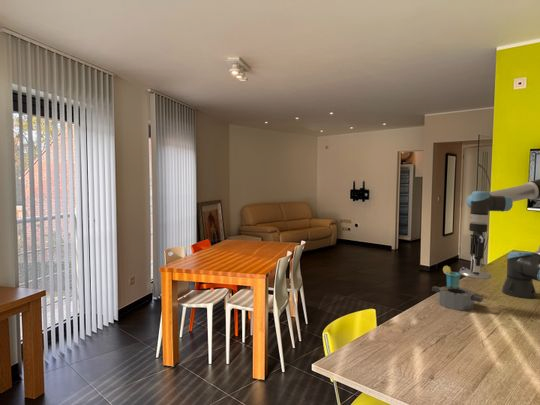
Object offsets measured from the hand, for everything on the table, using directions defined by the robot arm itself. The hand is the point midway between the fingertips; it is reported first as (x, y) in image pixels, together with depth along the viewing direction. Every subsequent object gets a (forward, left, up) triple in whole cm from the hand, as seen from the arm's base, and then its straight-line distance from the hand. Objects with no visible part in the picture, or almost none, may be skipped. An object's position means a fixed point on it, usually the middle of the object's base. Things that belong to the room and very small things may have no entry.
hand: (475, 271), depth 178 cm
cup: (+4, -20, -17) cm, 27 cm away
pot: (+8, +1, -17) cm, 19 cm away
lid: (0, 0, -2) cm, 2 cm away
